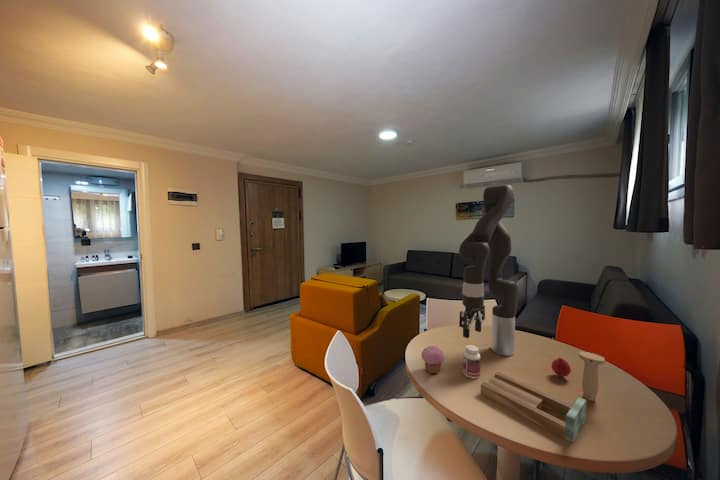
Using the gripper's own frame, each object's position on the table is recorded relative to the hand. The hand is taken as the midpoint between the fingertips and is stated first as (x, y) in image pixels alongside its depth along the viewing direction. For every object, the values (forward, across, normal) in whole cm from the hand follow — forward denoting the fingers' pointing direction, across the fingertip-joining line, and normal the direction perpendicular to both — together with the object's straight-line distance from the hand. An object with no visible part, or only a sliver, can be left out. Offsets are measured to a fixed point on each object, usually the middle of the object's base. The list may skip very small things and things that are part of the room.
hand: (472, 334), depth 103 cm
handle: (+16, -18, +32) cm, 40 cm away
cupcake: (+17, +10, -11) cm, 22 cm away
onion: (+16, -25, +22) cm, 37 cm away
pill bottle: (+17, 0, 0) cm, 17 cm away
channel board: (+16, +2, +21) cm, 27 cm away
